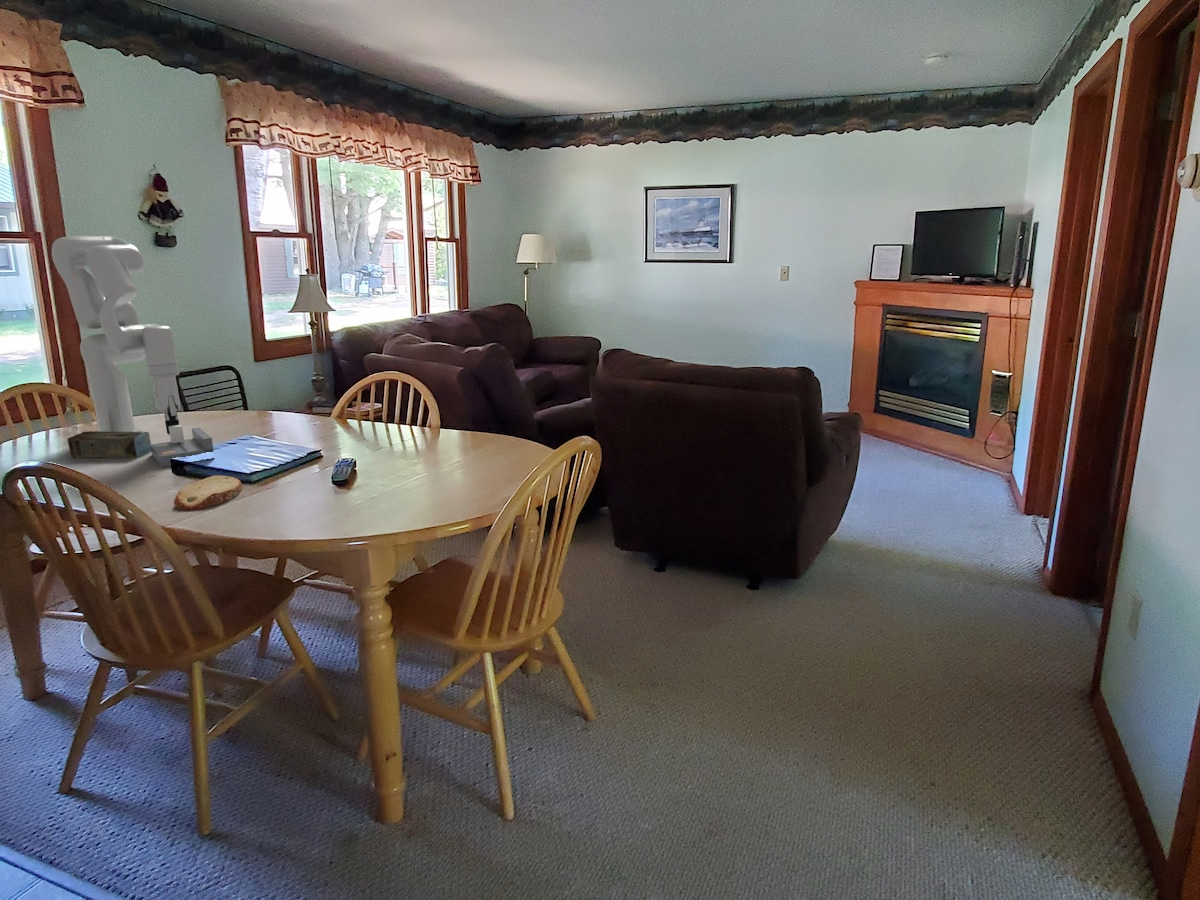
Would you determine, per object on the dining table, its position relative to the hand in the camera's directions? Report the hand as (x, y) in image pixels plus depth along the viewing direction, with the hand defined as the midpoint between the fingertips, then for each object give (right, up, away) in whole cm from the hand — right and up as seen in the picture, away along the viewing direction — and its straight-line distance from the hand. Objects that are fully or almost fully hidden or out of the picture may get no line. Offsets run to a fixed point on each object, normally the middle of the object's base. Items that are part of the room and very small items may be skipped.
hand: (173, 433), depth 226 cm
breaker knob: (+3, -2, -4) cm, 5 cm away
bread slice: (+30, -16, -40) cm, 53 cm away
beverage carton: (-16, -6, -3) cm, 17 cm away
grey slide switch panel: (+6, -7, -7) cm, 11 cm away
